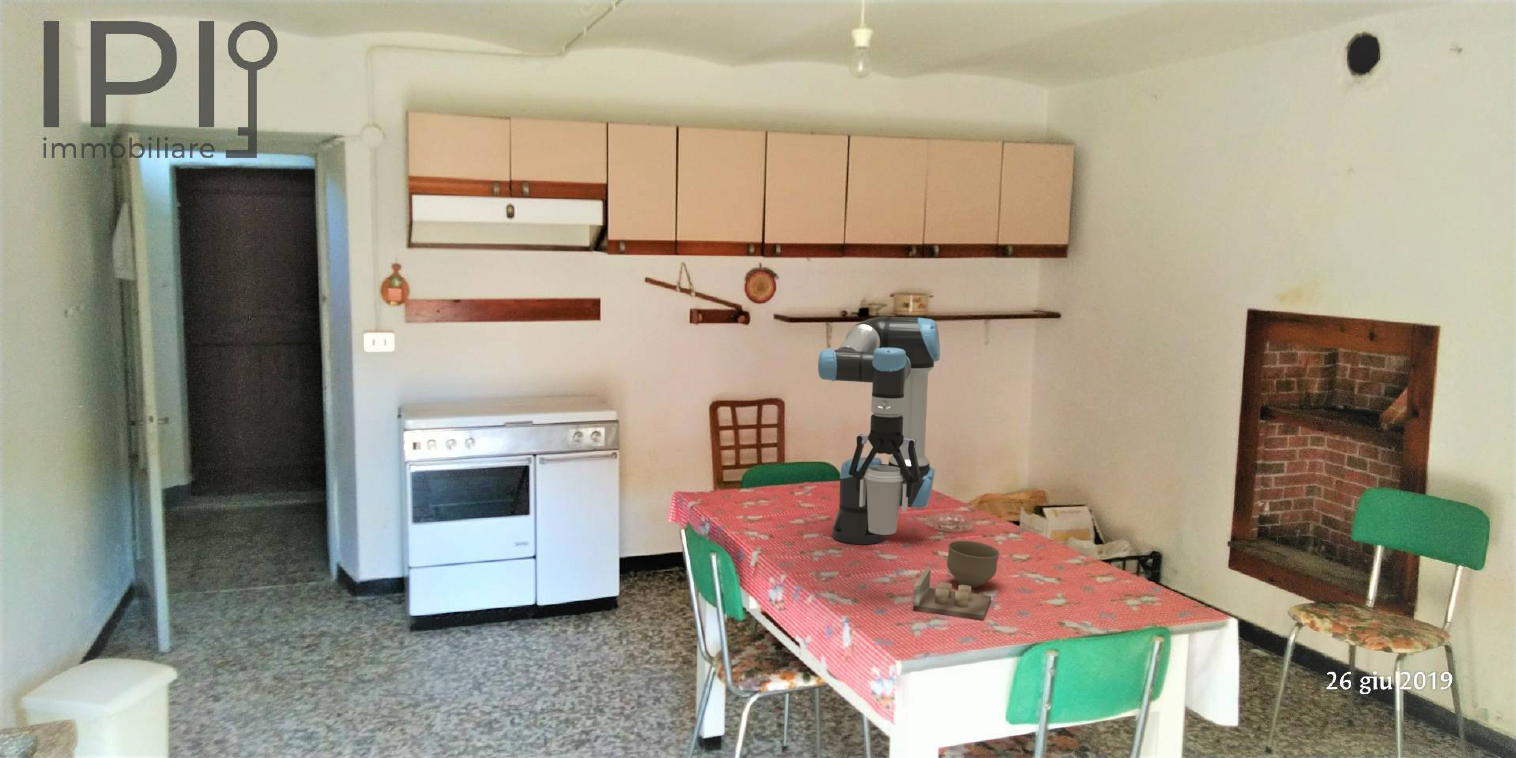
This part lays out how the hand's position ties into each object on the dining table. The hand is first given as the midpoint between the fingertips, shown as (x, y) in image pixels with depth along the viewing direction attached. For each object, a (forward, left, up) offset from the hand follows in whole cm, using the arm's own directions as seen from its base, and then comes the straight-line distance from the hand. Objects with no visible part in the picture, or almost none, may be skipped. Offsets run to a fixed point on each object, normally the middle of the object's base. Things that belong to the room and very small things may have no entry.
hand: (883, 507), depth 239 cm
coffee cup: (0, 0, -6) cm, 6 cm away
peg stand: (+17, +3, -22) cm, 28 cm away
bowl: (+19, +20, -23) cm, 36 cm away
